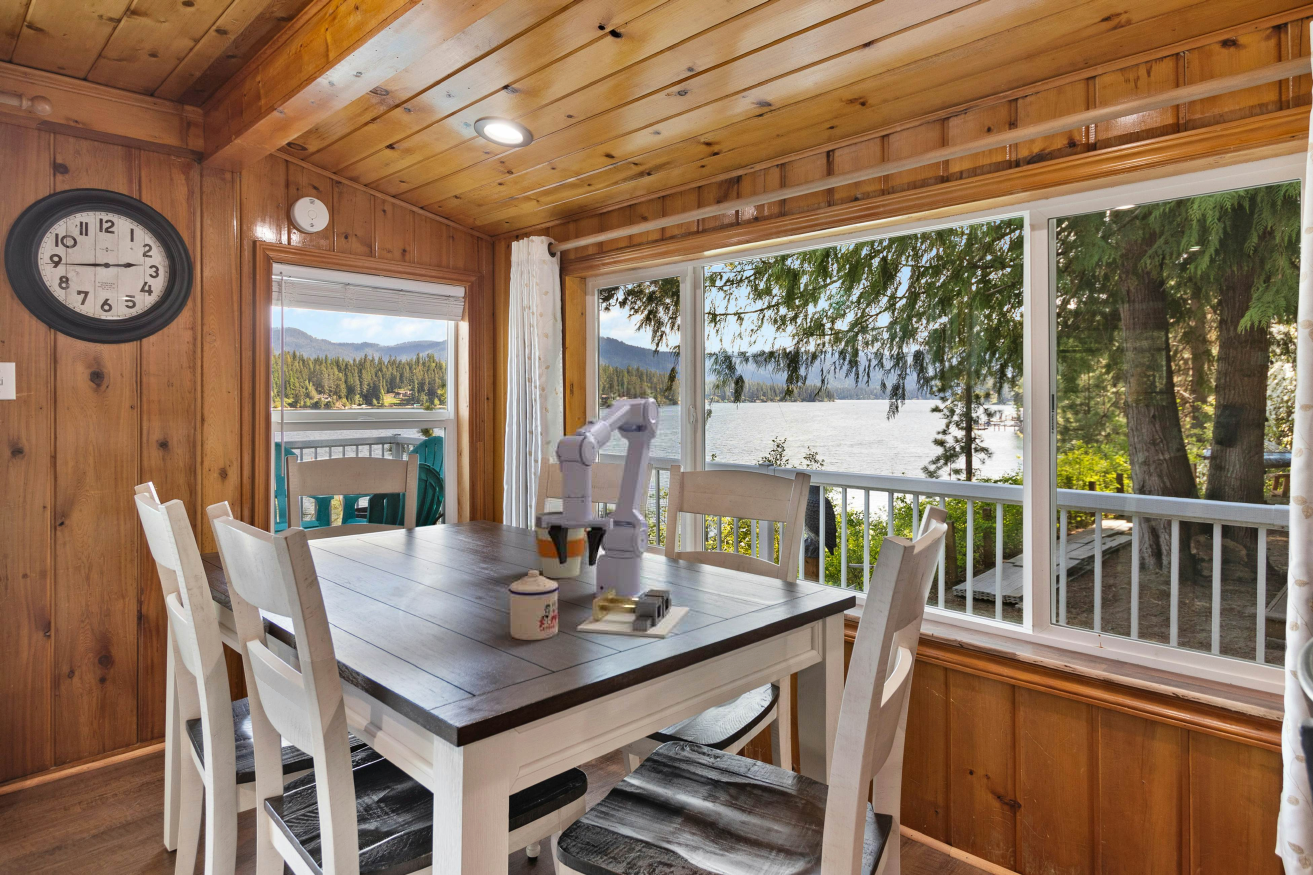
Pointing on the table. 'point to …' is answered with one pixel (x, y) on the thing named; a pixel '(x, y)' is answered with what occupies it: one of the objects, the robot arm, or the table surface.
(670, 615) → the mat
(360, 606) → the table surface
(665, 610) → the dark grey notched block
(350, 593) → the table surface
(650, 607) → the chain end near
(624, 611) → the gold metal bracket
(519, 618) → the teacup with lid
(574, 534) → the reusable coffee cup
